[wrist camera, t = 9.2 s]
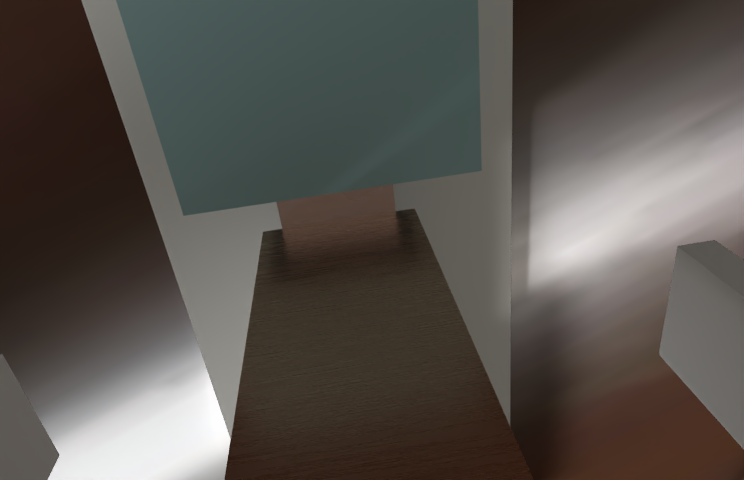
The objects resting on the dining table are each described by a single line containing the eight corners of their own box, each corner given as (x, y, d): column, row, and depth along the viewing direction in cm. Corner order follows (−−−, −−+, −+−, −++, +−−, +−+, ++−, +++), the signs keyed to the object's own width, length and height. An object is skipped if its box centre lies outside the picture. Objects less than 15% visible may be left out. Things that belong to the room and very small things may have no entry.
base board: (503, 542, 30) (509, 559, 29) (286, 581, 29) (286, 600, 28) (501, -135, 15) (513, -141, 14) (68, -80, 15) (53, -83, 14)
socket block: (435, 115, 17) (481, 170, 13) (215, 147, 17) (183, 216, 12) (424, -64, 15) (476, -74, 10) (169, -30, 15) (108, -25, 10)
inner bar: (424, 439, 22) (548, 939, 11) (329, 455, 22) (354, 980, 11) (383, 33, 15) (641, 280, 3) (239, 53, 15) (13, 383, 3)
